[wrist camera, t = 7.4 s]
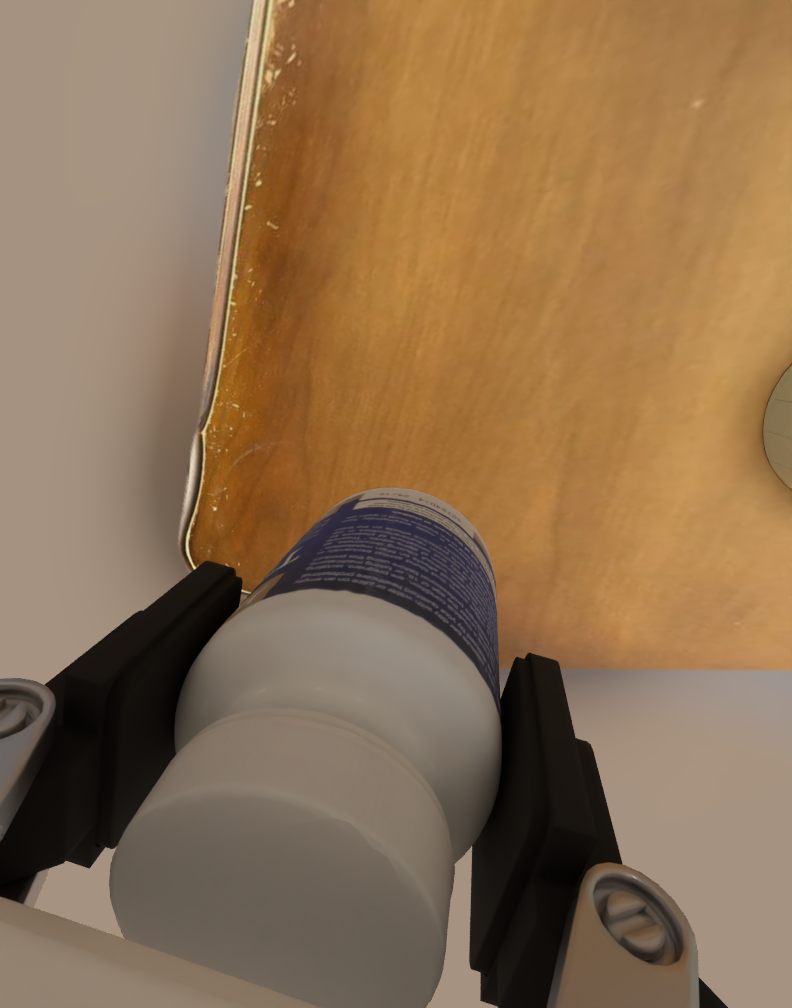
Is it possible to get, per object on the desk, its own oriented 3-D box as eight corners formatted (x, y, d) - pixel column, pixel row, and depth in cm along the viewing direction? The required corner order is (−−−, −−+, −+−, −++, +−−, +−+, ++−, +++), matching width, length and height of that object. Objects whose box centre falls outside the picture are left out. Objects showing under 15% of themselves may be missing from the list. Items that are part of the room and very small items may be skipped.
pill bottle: (319, 462, 15) (44, 672, 6) (517, 508, 14) (574, 819, 5) (292, 634, 16) (48, 1013, 7) (469, 680, 16) (447, 1149, 7)
